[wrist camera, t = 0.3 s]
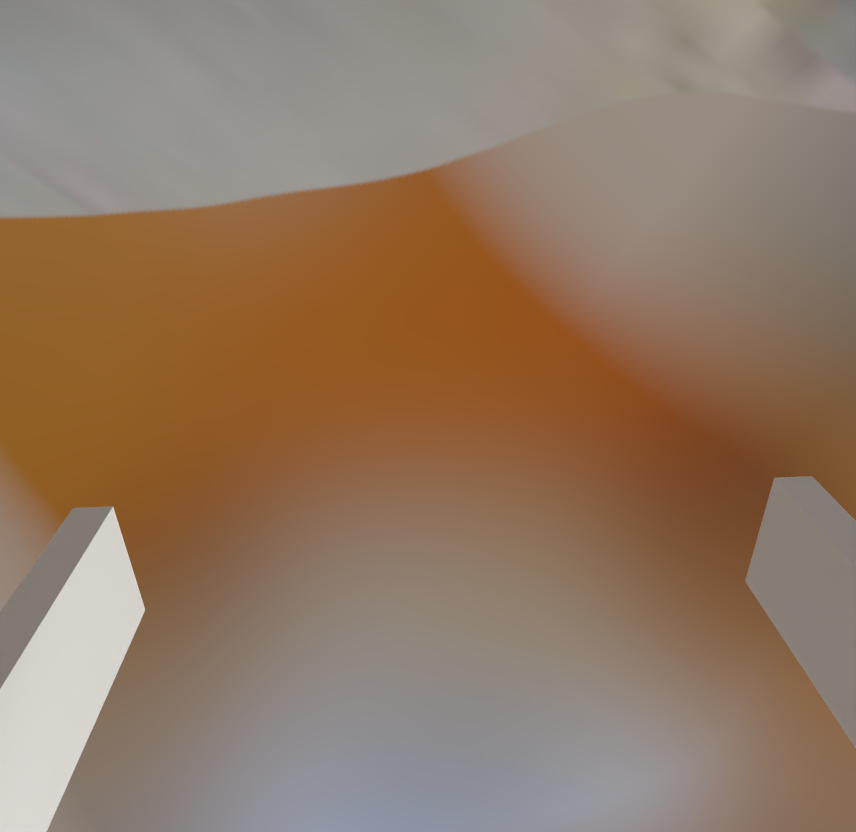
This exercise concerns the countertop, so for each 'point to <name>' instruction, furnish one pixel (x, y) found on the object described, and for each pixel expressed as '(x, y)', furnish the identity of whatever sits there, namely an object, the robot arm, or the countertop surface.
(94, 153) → the countertop surface
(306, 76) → the countertop surface
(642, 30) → the countertop surface
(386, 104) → the countertop surface
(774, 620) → the robot arm
